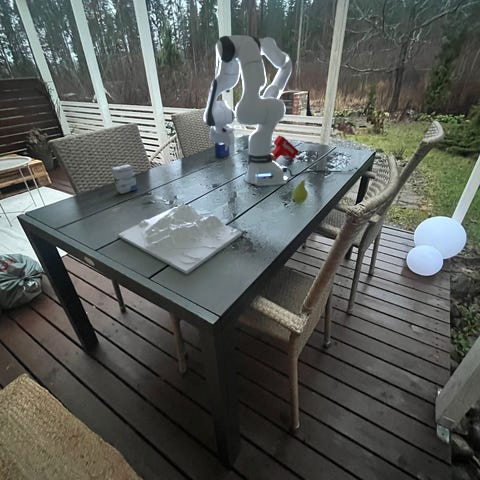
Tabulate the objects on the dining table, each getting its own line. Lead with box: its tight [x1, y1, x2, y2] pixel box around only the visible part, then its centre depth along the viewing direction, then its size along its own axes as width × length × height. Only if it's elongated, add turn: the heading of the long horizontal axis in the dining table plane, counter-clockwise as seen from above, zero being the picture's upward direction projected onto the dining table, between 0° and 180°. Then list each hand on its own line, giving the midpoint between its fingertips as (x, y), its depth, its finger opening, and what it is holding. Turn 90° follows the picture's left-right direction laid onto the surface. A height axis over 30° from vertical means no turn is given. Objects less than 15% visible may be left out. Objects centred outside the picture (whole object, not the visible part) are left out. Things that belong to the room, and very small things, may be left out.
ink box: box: [110, 164, 138, 195], centre depth 131 cm, size 8×5×12 cm, turn 135°
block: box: [214, 143, 230, 158], centre depth 184 cm, size 5×8×8 cm, turn 139°
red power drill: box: [270, 134, 300, 163], centre depth 174 cm, size 18×4×15 cm
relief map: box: [117, 202, 243, 275], centre depth 96 cm, size 27×35×5 cm
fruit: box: [291, 174, 311, 204], centre depth 118 cm, size 7×8×12 cm
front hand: (222, 149), depth 184 cm, fingers closed on block, 5 cm apart
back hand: (223, 92), depth 198 cm, fingers open, 9 cm apart
